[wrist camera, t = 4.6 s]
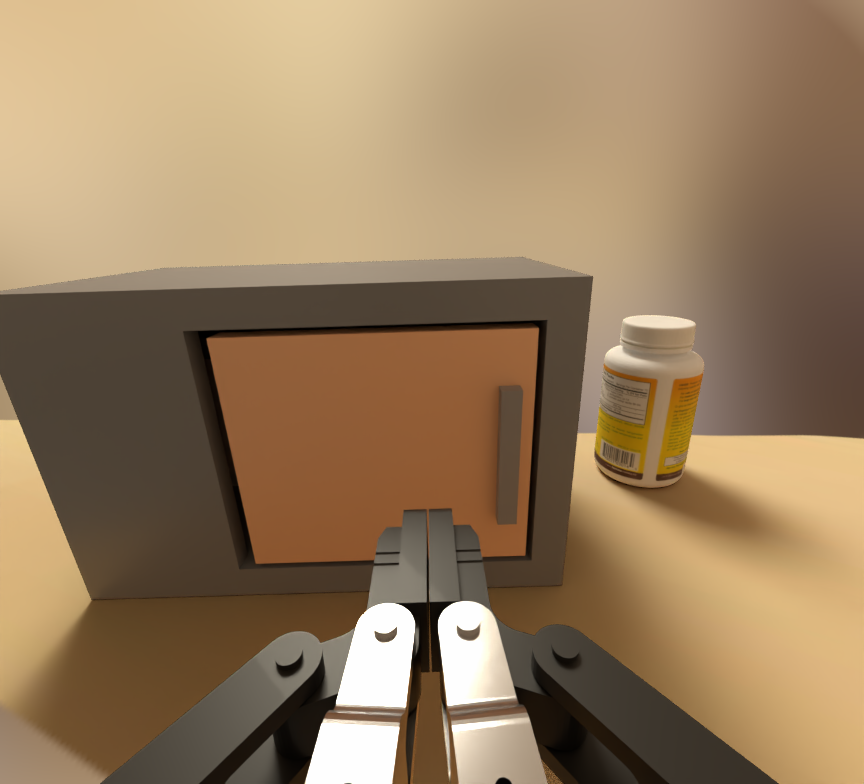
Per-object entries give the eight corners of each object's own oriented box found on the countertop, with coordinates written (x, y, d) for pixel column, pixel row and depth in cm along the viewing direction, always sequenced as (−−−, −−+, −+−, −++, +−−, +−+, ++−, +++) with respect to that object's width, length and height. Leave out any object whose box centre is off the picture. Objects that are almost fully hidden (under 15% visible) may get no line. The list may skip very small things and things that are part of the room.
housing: (91, 599, 20) (-32, 295, 15) (212, 466, 31) (164, 267, 26) (583, 584, 20) (621, 275, 15) (527, 457, 31) (538, 256, 26)
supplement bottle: (672, 454, 31) (699, 313, 27) (691, 497, 26) (727, 332, 22) (590, 446, 33) (605, 311, 29) (594, 485, 28) (613, 329, 24)
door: (250, 573, 19) (198, 342, 15) (263, 548, 20) (218, 332, 17) (528, 565, 19) (542, 332, 15) (520, 540, 20) (532, 322, 17)
